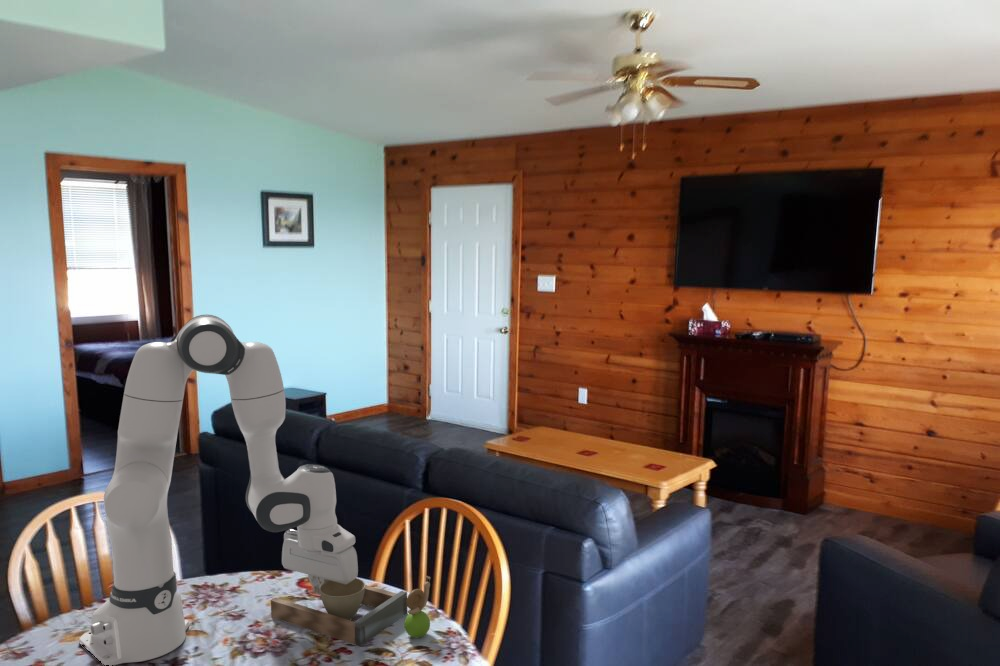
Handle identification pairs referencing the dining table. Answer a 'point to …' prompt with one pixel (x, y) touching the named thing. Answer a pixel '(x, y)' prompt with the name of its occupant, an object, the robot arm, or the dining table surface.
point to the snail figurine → (417, 612)
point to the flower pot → (342, 597)
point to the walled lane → (357, 632)
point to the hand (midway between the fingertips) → (319, 593)
